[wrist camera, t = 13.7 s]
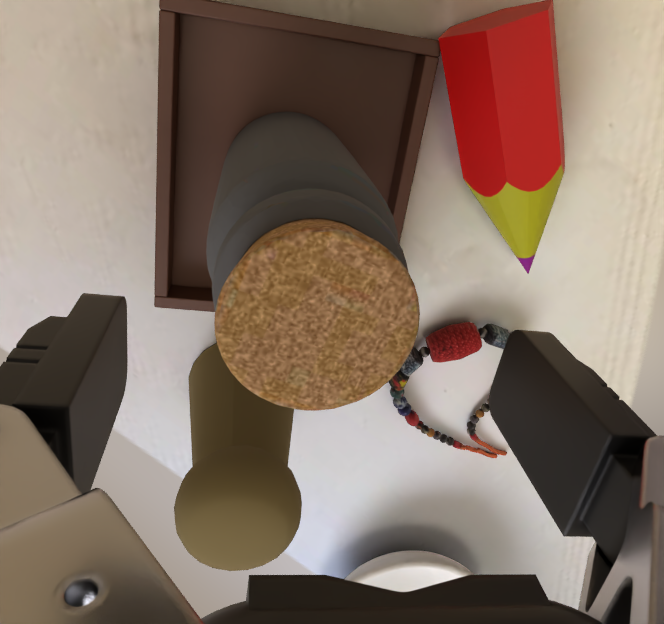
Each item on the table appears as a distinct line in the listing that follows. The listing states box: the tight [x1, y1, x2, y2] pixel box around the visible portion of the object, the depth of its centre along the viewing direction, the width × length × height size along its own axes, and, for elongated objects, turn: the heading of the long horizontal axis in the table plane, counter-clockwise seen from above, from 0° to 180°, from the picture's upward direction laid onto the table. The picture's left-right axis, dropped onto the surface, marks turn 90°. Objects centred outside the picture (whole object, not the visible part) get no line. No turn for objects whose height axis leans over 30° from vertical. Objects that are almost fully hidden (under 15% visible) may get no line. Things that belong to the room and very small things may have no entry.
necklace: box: [389, 322, 511, 458], centre depth 33 cm, size 8×11×2 cm
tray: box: [154, 0, 441, 312], centre depth 26 cm, size 13×11×2 cm
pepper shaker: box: [174, 343, 302, 571], centre depth 27 cm, size 6×6×11 cm
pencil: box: [438, 0, 565, 273], centre depth 25 cm, size 5×12×4 cm, turn 17°
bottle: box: [206, 111, 420, 410], centre depth 19 cm, size 6×6×15 cm
